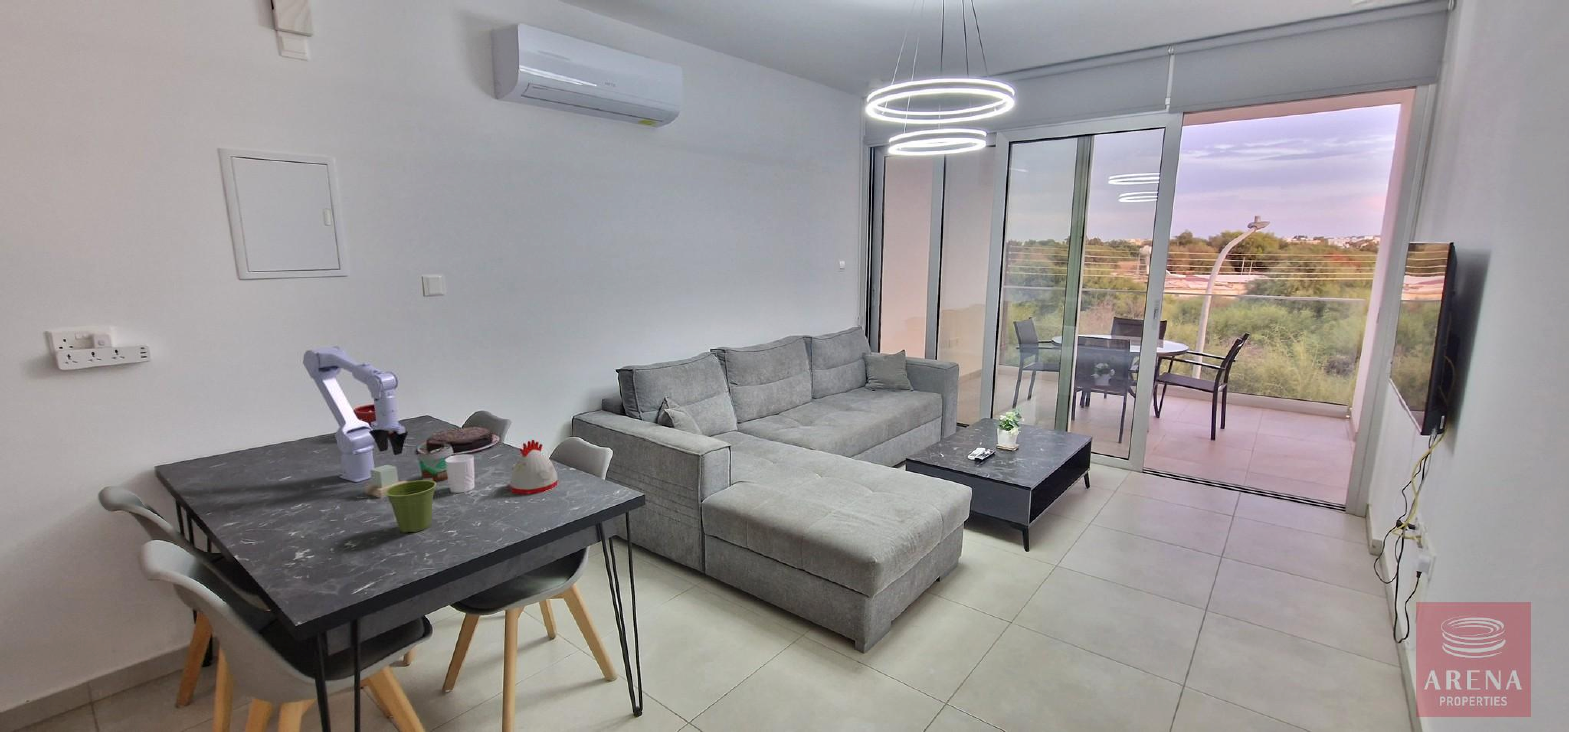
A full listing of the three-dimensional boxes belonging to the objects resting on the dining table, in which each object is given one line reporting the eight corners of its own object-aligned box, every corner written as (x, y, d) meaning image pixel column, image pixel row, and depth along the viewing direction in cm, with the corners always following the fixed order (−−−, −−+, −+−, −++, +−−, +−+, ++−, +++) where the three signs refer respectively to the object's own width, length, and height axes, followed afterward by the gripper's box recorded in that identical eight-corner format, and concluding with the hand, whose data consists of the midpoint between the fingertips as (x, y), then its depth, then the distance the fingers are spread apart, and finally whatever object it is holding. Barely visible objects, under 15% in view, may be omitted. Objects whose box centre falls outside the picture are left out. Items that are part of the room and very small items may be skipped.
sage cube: (371, 484, 190) (370, 469, 189) (388, 479, 195) (386, 464, 194) (382, 487, 188) (380, 471, 187) (398, 482, 193) (396, 466, 192)
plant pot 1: (348, 440, 245) (344, 410, 243) (375, 430, 258) (371, 402, 256) (377, 441, 243) (374, 411, 241) (403, 432, 256) (400, 404, 254)
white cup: (482, 486, 196) (479, 456, 194) (460, 495, 189) (456, 463, 187) (464, 482, 199) (461, 452, 198) (442, 491, 192) (439, 460, 191)
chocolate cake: (409, 446, 239) (407, 429, 238) (486, 432, 257) (484, 417, 256) (428, 463, 218) (426, 445, 217) (510, 447, 237) (509, 430, 236)
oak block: (366, 494, 191) (365, 485, 190) (392, 486, 198) (391, 477, 197) (381, 499, 187) (380, 490, 186) (408, 490, 194) (407, 481, 193)
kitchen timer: (500, 489, 193) (496, 443, 191) (535, 475, 206) (532, 432, 203) (533, 497, 188) (529, 449, 185) (567, 482, 200) (564, 437, 197)
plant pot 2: (450, 520, 171) (446, 481, 169) (416, 539, 160) (411, 497, 158) (414, 516, 174) (410, 477, 172) (378, 534, 162) (373, 493, 160)
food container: (436, 486, 197) (433, 455, 195) (419, 484, 198) (416, 454, 196) (464, 472, 208) (461, 444, 207) (447, 471, 210) (445, 443, 208)
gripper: (359, 411, 196) (364, 452, 198) (386, 416, 189) (391, 459, 192) (382, 406, 202) (386, 446, 204) (409, 411, 195) (414, 452, 198)
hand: (390, 452), depth 198 cm, fingers open, 7 cm apart
